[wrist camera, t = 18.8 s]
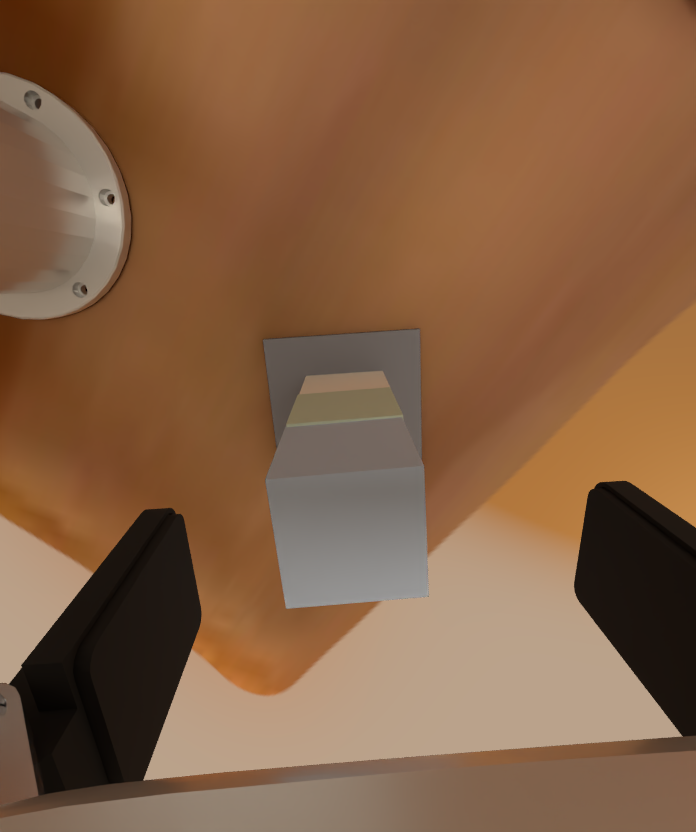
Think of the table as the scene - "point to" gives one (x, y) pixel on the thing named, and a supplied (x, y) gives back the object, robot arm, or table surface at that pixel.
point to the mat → (346, 369)
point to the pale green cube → (343, 407)
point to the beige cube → (343, 382)
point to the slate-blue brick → (349, 513)
